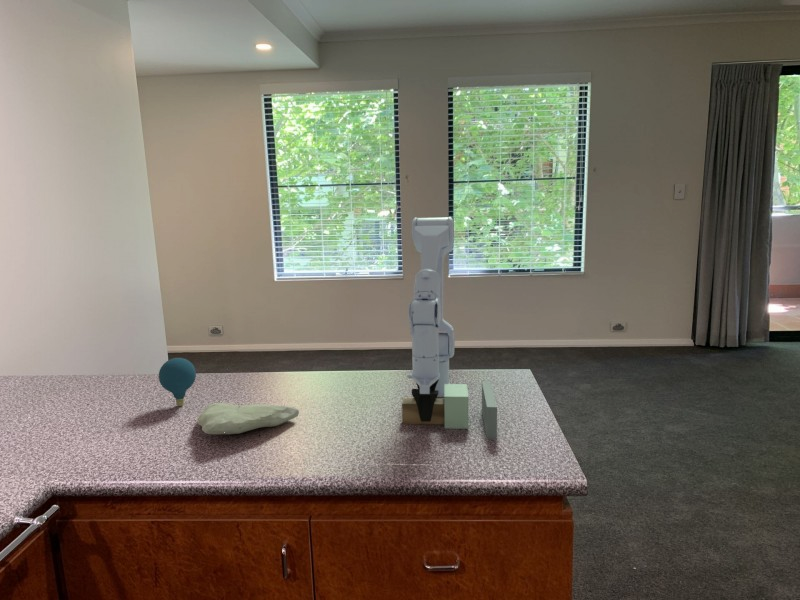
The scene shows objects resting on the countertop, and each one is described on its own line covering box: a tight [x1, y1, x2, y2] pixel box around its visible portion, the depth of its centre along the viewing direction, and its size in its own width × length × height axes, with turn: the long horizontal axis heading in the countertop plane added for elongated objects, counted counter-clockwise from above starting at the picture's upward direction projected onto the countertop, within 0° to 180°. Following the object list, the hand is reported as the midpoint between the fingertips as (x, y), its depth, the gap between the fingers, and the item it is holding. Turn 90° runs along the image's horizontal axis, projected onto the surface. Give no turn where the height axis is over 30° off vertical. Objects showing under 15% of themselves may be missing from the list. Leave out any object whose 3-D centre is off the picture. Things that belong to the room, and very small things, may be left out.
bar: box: [401, 397, 445, 425], centre depth 118 cm, size 4×12×5 cm, turn 85°
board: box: [481, 380, 498, 440], centre depth 115 cm, size 16×2×7 cm, turn 175°
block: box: [443, 383, 469, 430], centre depth 117 cm, size 8×5×7 cm, turn 175°
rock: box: [197, 402, 300, 436], centre depth 115 cm, size 24×6×20 cm
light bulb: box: [158, 357, 197, 407], centre depth 130 cm, size 8×8×12 cm
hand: (426, 414), depth 118 cm, fingers open, 7 cm apart
